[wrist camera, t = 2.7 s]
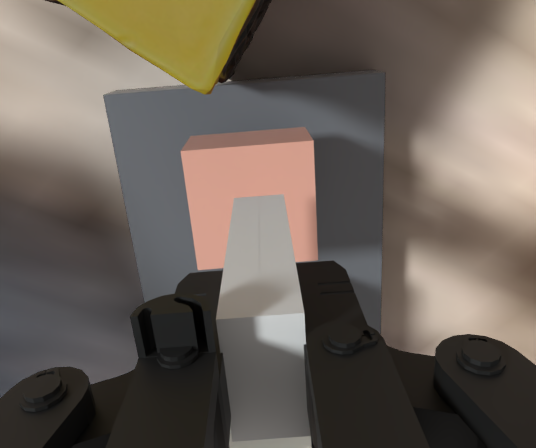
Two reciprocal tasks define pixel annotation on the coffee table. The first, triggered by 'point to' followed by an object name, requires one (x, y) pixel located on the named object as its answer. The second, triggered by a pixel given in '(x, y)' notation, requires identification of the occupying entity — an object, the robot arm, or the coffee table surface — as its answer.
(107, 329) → the coffee table surface
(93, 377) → the coffee table surface
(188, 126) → the keypad base
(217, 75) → the candle
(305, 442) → the key ivory
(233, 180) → the key coral
